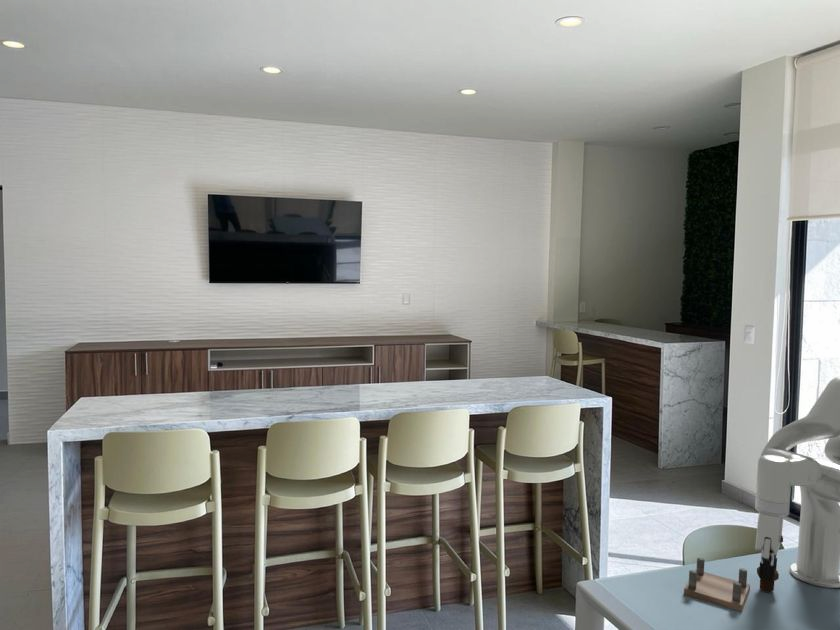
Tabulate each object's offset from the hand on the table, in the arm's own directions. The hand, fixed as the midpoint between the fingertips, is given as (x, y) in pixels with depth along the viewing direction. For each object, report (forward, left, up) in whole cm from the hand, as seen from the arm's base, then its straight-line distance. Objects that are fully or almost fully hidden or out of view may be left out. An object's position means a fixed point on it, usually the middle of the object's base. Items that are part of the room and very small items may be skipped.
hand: (767, 574), depth 161 cm
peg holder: (+9, -10, -4) cm, 14 cm away
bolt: (0, 0, -4) cm, 4 cm away
